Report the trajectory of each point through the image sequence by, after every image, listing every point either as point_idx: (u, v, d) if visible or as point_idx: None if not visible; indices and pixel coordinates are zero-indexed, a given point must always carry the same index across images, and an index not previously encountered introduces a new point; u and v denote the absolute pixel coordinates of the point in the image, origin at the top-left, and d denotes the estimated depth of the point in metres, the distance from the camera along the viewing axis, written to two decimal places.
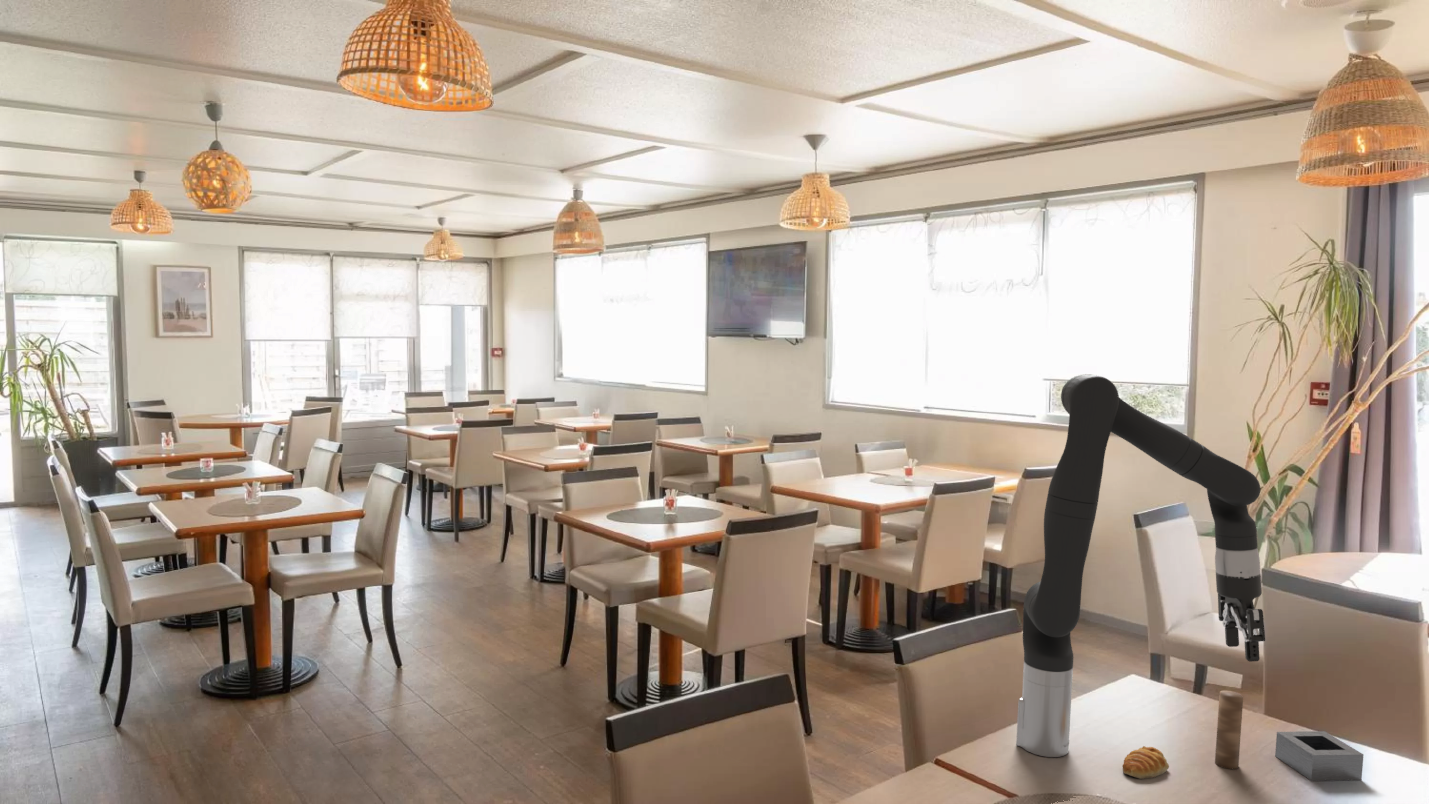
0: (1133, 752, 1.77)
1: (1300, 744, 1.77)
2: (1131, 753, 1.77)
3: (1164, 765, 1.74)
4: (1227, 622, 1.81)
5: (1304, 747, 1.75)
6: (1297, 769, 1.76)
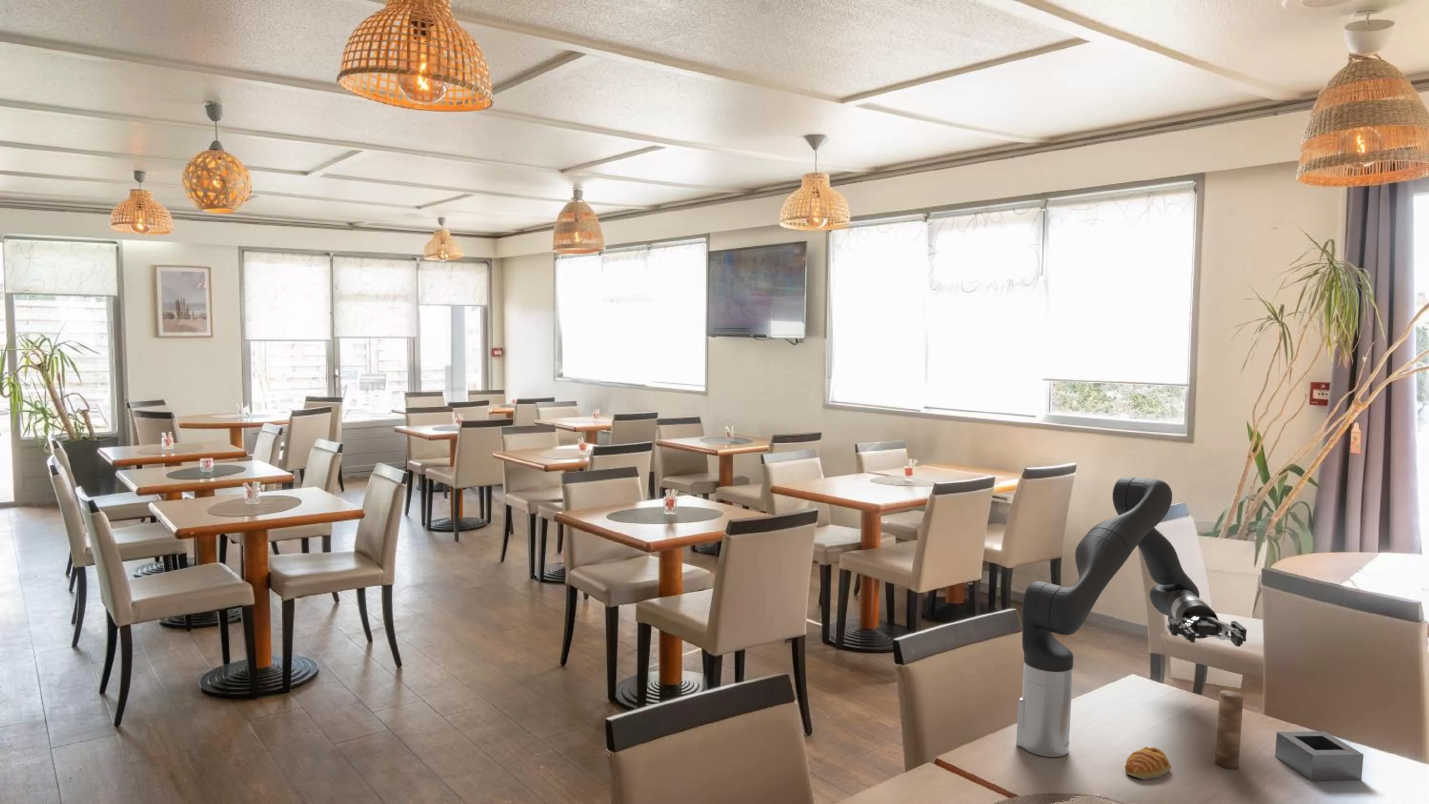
0: (1135, 753, 1.77)
1: (1300, 744, 1.77)
2: (1133, 754, 1.77)
3: (1167, 766, 1.74)
4: (1191, 625, 1.93)
5: (1304, 747, 1.75)
6: (1297, 769, 1.76)
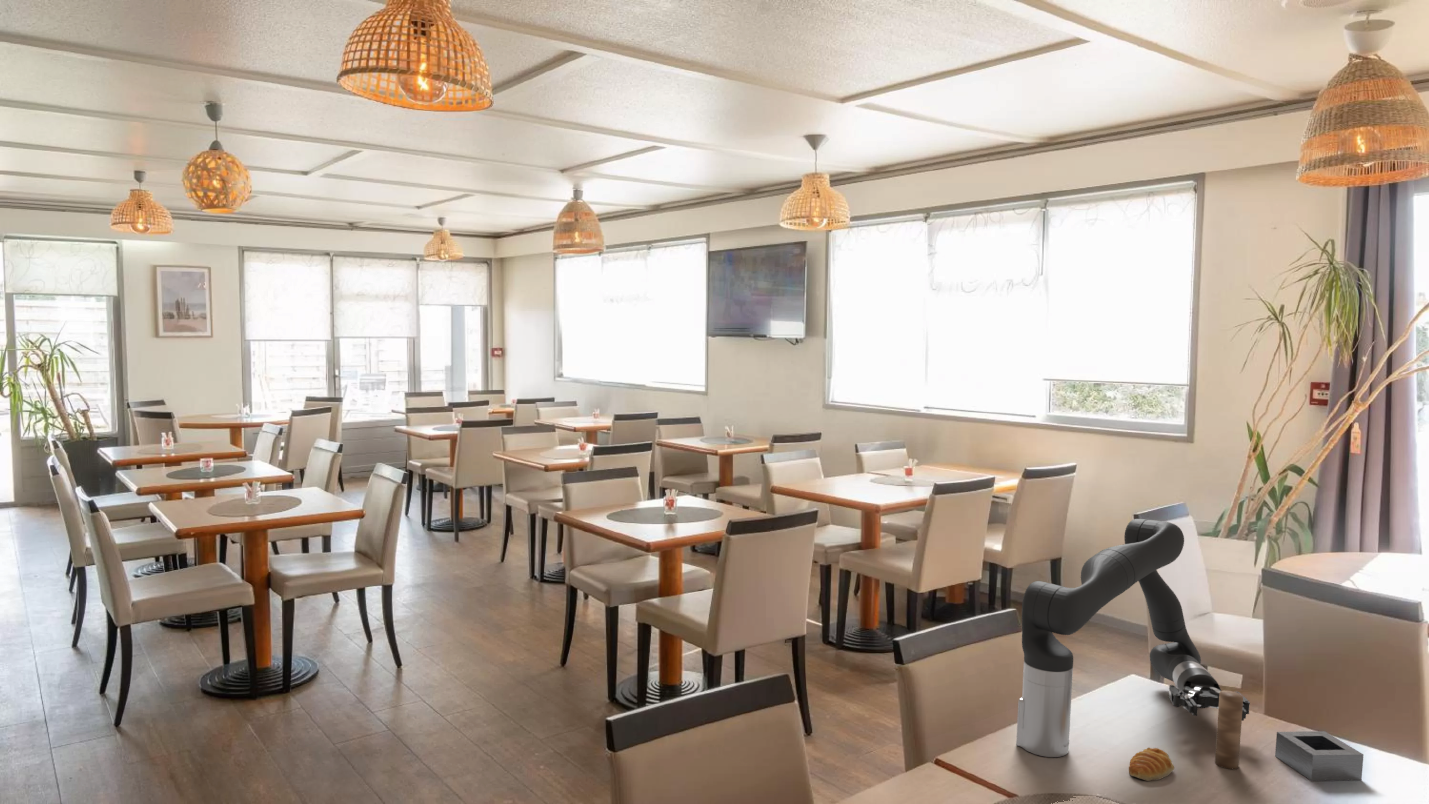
0: (1139, 754, 1.76)
1: (1300, 744, 1.77)
2: (1137, 755, 1.76)
3: (1170, 766, 1.74)
4: (1193, 697, 1.90)
5: (1304, 747, 1.75)
6: (1297, 769, 1.76)
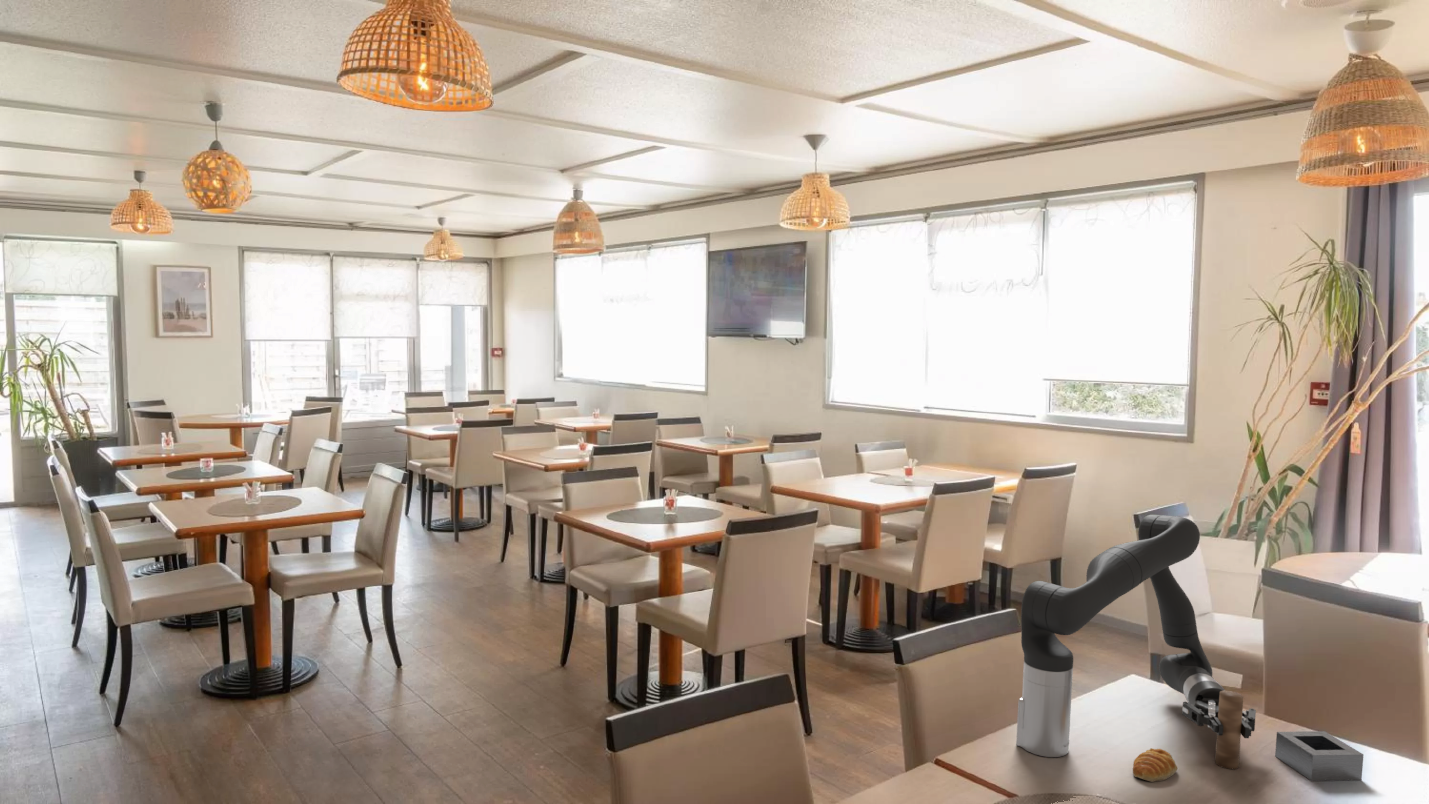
0: (1142, 755, 1.76)
1: (1300, 744, 1.77)
2: (1140, 756, 1.76)
3: (1174, 767, 1.73)
4: (1215, 714, 1.81)
5: (1304, 747, 1.75)
6: (1297, 769, 1.76)
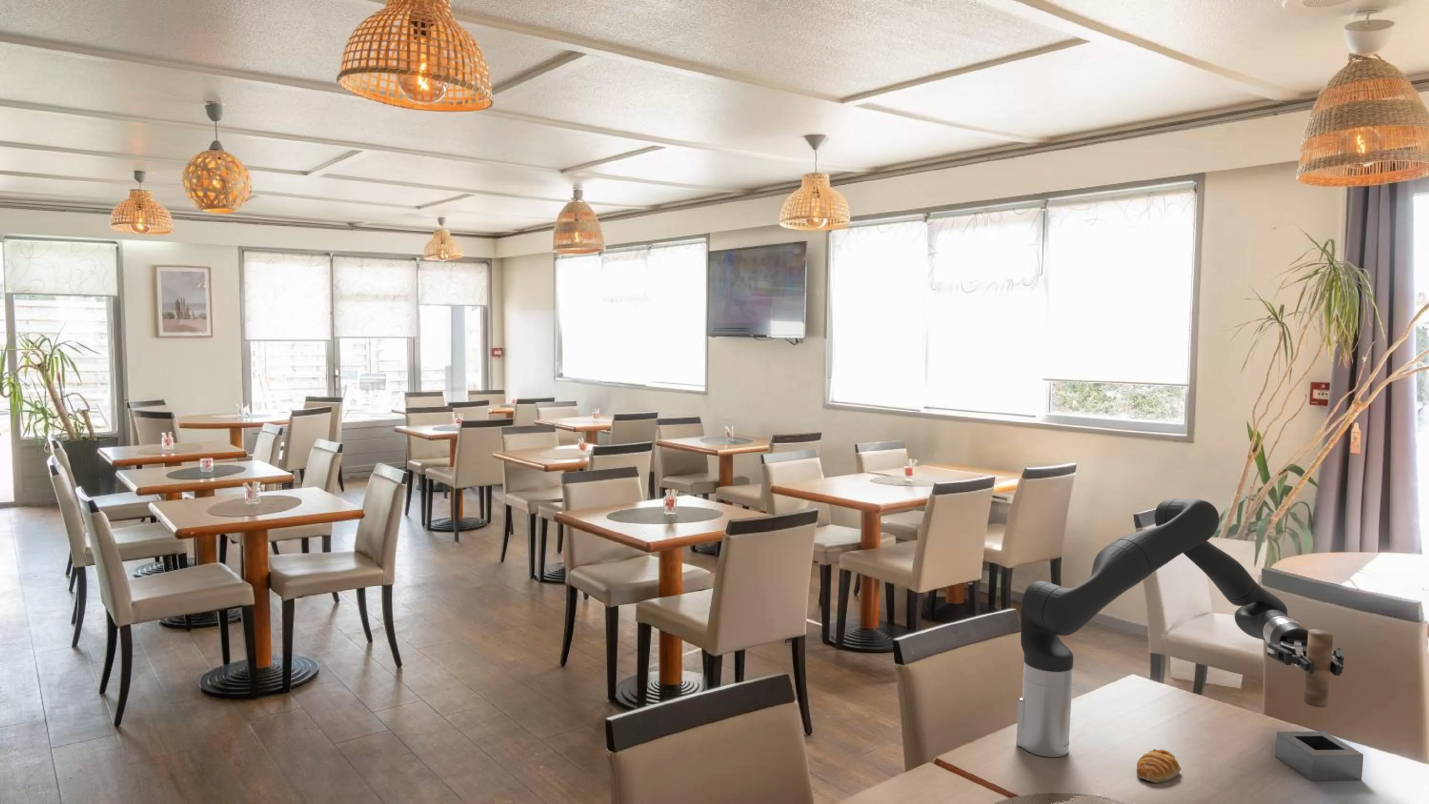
0: (1145, 756, 1.75)
1: (1300, 744, 1.77)
2: (1143, 757, 1.75)
3: (1177, 768, 1.73)
4: (1302, 653, 1.80)
5: (1304, 747, 1.75)
6: (1297, 769, 1.76)
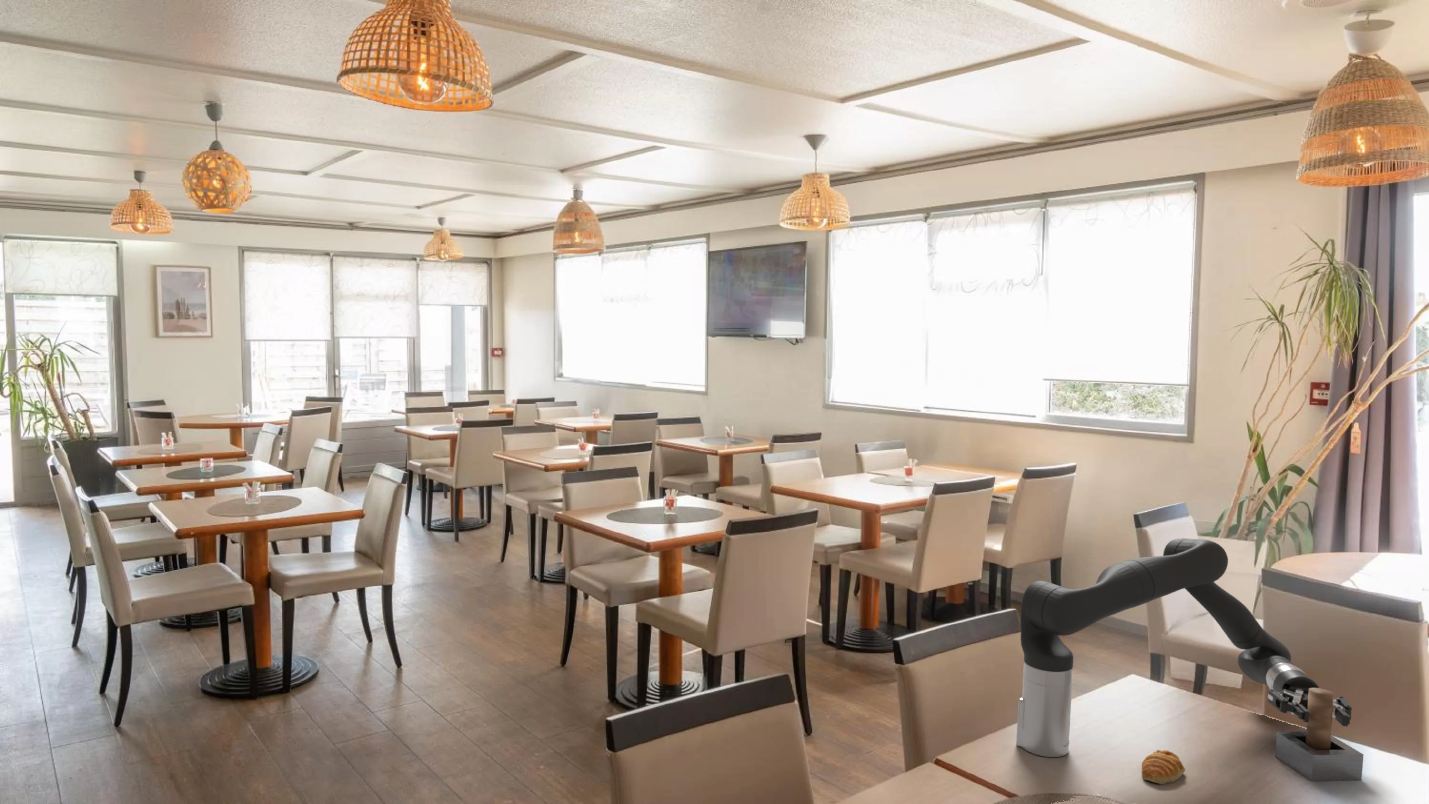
0: (1150, 757, 1.75)
1: (1300, 744, 1.77)
2: (1148, 758, 1.75)
3: (1182, 768, 1.73)
4: (1300, 701, 1.80)
5: (1304, 747, 1.75)
6: (1297, 769, 1.76)
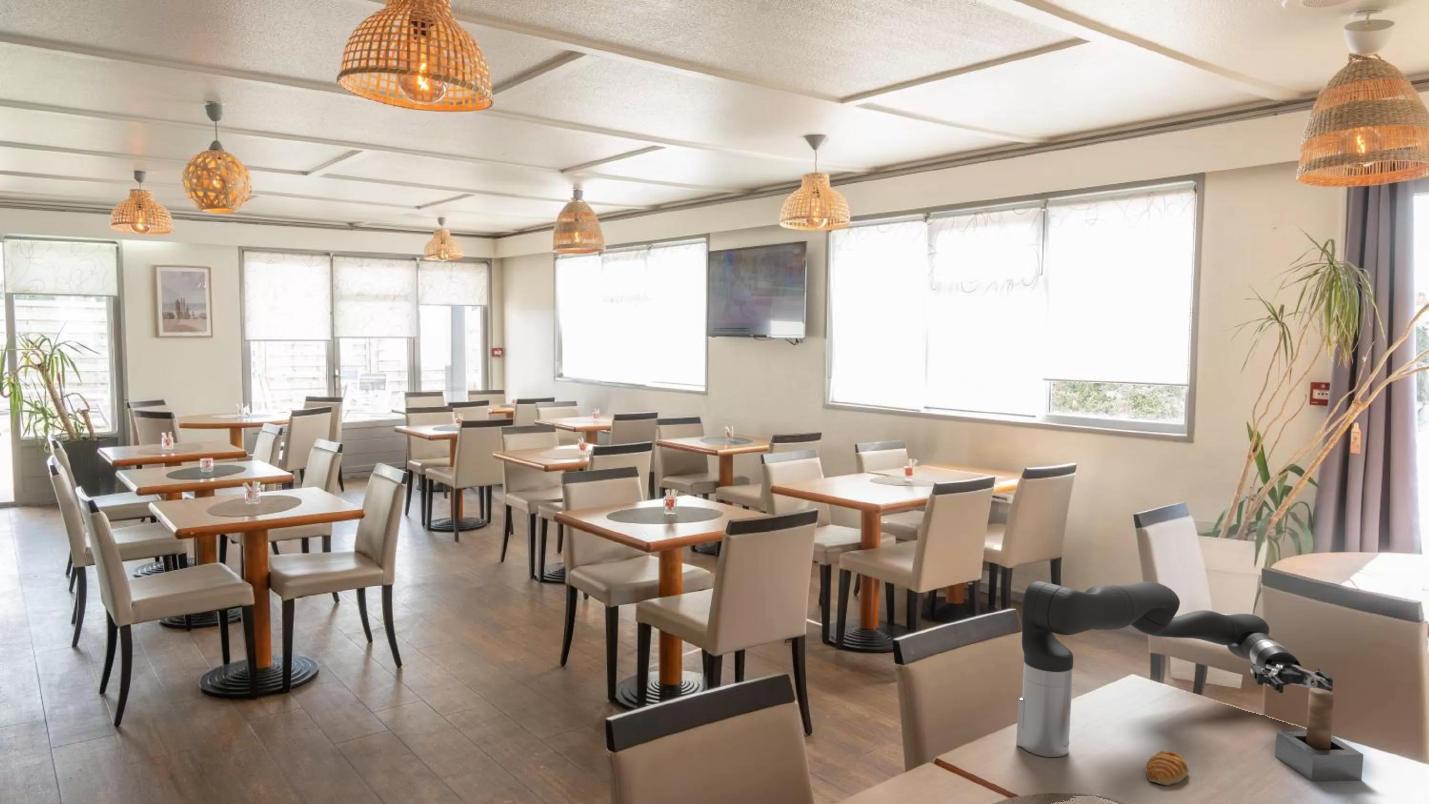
0: (1154, 758, 1.75)
1: (1300, 744, 1.77)
2: (1152, 759, 1.74)
3: (1186, 769, 1.73)
4: (1276, 674, 1.93)
5: (1304, 747, 1.75)
6: (1297, 769, 1.76)
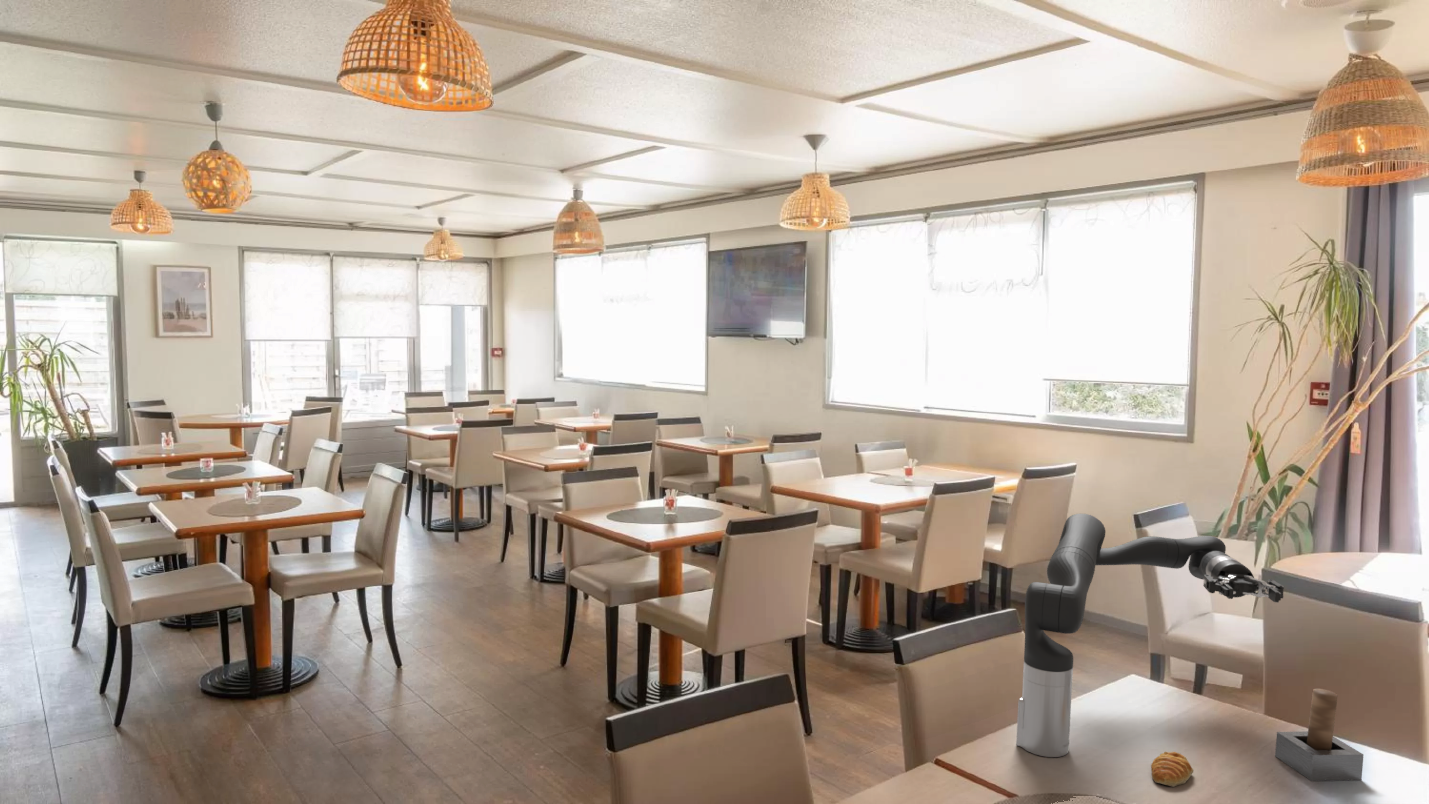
0: (1159, 759, 1.74)
1: (1300, 744, 1.77)
2: (1157, 760, 1.74)
3: (1191, 770, 1.72)
4: (1228, 583, 1.94)
5: (1304, 747, 1.75)
6: (1297, 769, 1.76)
